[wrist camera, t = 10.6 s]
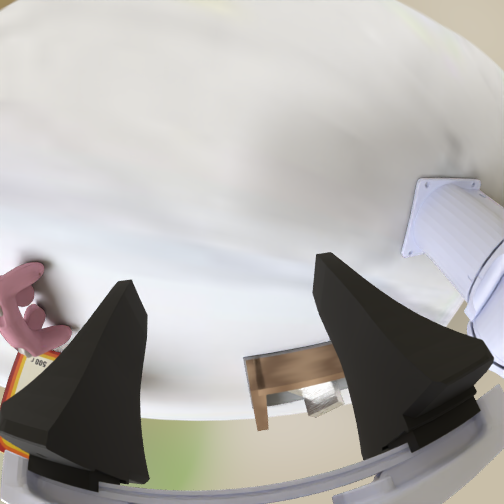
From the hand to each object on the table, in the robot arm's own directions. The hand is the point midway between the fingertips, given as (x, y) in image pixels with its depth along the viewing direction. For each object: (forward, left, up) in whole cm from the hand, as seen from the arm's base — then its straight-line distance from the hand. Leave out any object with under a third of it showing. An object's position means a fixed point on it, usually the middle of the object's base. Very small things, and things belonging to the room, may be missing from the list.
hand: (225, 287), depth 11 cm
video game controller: (+20, +7, -10) cm, 23 cm away
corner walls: (-9, +27, -9) cm, 30 cm away
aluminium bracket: (-8, +26, -9) cm, 29 cm away
